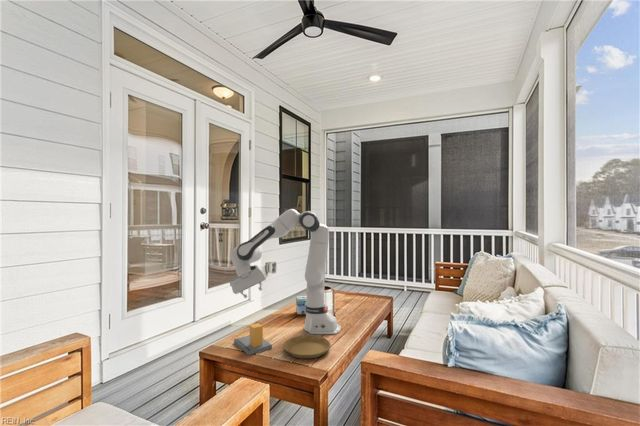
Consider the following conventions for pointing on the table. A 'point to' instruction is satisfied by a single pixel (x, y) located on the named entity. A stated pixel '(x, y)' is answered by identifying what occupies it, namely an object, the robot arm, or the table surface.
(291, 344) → the plant saucer
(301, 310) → the light bulb box
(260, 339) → the tall orange brick
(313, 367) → the table surface
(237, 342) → the plate
